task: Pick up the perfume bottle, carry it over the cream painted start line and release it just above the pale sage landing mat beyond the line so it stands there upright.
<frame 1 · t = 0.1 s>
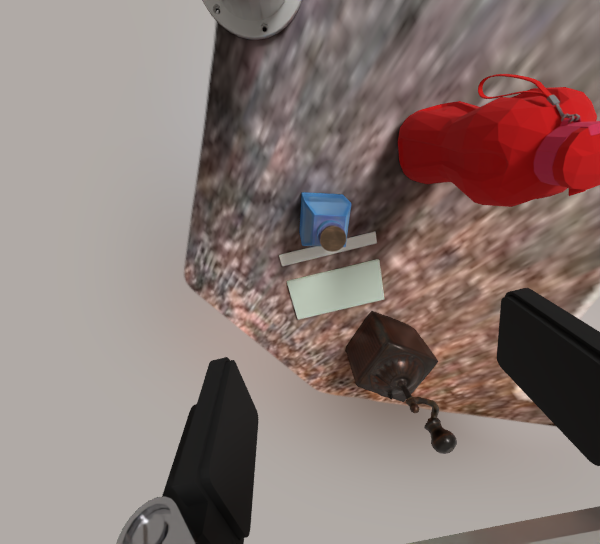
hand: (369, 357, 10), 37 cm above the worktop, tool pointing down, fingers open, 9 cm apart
start line: (327, 248, 48), on the worktop
perfume bottle: (320, 213, 45), on the worktop
landing mat: (336, 289, 51), on the worktop
water bottle: (426, 137, 41), on the worktop
dark brown coffee grinder: (389, 343, 58), on the worktop
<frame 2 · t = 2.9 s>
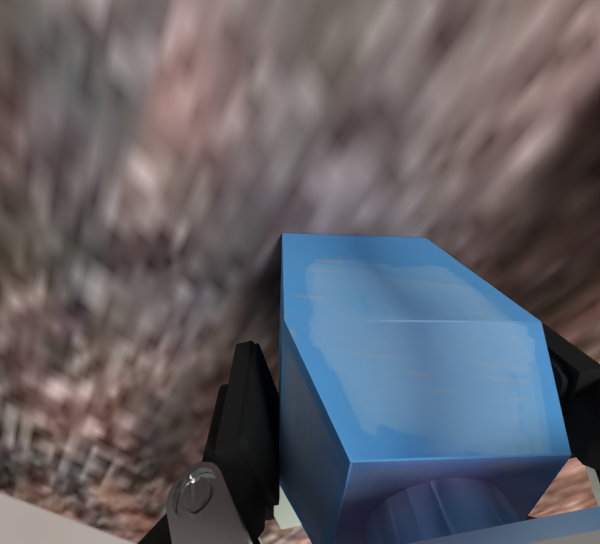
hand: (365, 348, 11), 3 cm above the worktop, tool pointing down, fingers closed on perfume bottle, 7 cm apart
perfume bottle: (345, 296, 14), on the worktop, touching gripper
landing mat: (380, 470, 20), on the worktop
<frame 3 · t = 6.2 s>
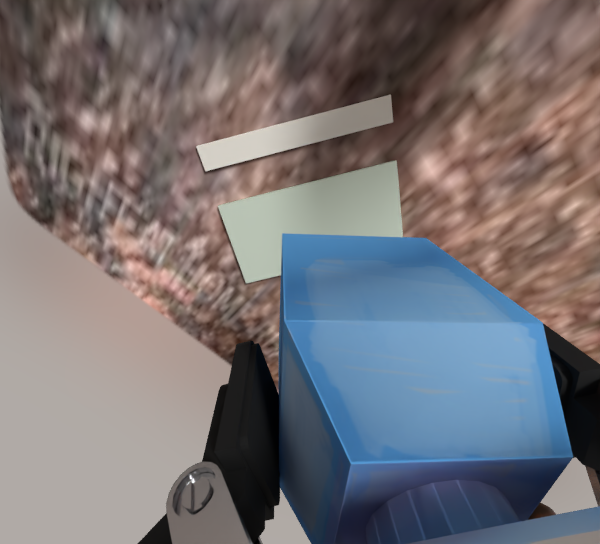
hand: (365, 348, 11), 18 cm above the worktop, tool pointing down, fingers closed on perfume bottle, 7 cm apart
start line: (294, 134, 24), on the worktop
perfume bottle: (345, 296, 14), point 15 cm above the worktop, touching gripper
landing mat: (315, 225, 27), on the worktop
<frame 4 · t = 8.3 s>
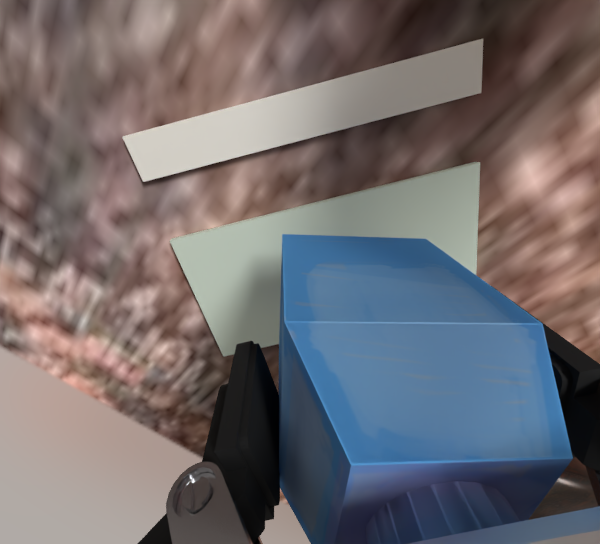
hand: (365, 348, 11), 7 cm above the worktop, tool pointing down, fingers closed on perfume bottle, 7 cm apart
start line: (302, 115, 13), on the worktop
perfume bottle: (345, 297, 14), point 3 cm above the worktop, touching gripper
landing mat: (334, 269, 17), on the worktop
dark brown coffee grinder: (465, 409, 23), on the worktop
when the fingers open (5 cm above the worktop, at t = 9.7 s): perfume bottle drops 1 cm, resting on landing mat.
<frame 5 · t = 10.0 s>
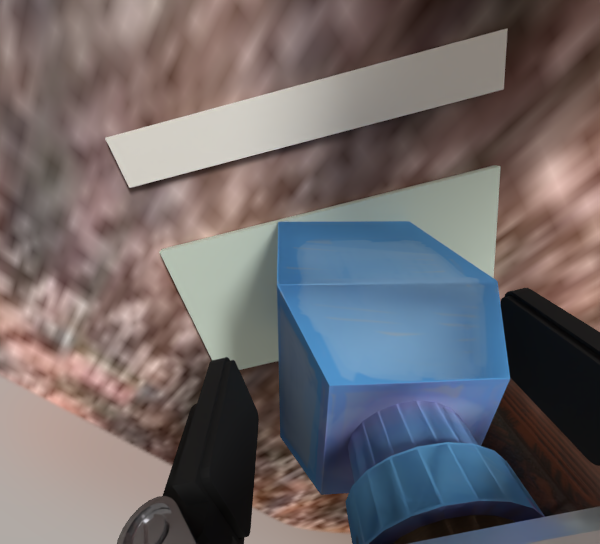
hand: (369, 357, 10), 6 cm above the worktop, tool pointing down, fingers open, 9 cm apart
start line: (305, 114, 12), on the worktop
perfume bottle: (339, 278, 15), resting on landing mat
landing mat: (338, 281, 15), on the worktop
dark brown coffee grinder: (477, 426, 22), on the worktop
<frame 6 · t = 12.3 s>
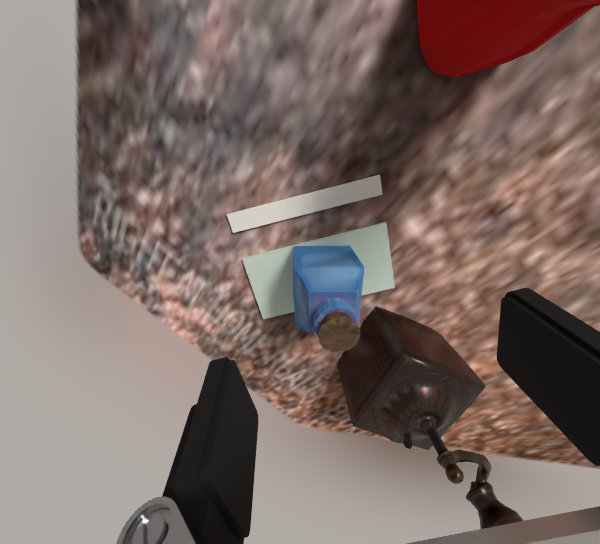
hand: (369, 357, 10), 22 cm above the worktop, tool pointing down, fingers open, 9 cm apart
start line: (304, 204, 30), on the worktop
perfume bottle: (320, 271, 33), resting on landing mat
landing mat: (320, 272, 33), on the worktop
water bottle: (465, 0, 24), on the worktop
dark brown coffee grinder: (401, 356, 39), on the worktop
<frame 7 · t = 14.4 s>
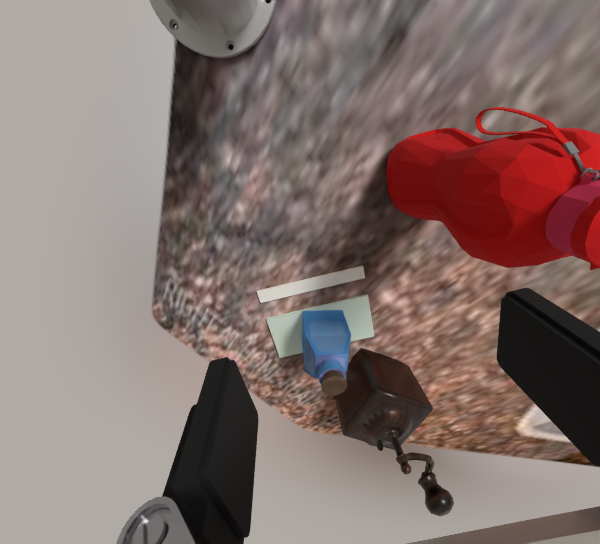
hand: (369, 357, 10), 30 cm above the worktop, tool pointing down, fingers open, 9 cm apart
start line: (310, 283, 43), on the worktop
perfume bottle: (321, 326, 46), resting on landing mat
landing mat: (321, 326, 47), on the worktop
water bottle: (418, 164, 37), on the worktop
dark brown coffee grinder: (380, 380, 53), on the worktop
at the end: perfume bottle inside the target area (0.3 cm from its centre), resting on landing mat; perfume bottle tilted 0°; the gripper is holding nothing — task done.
